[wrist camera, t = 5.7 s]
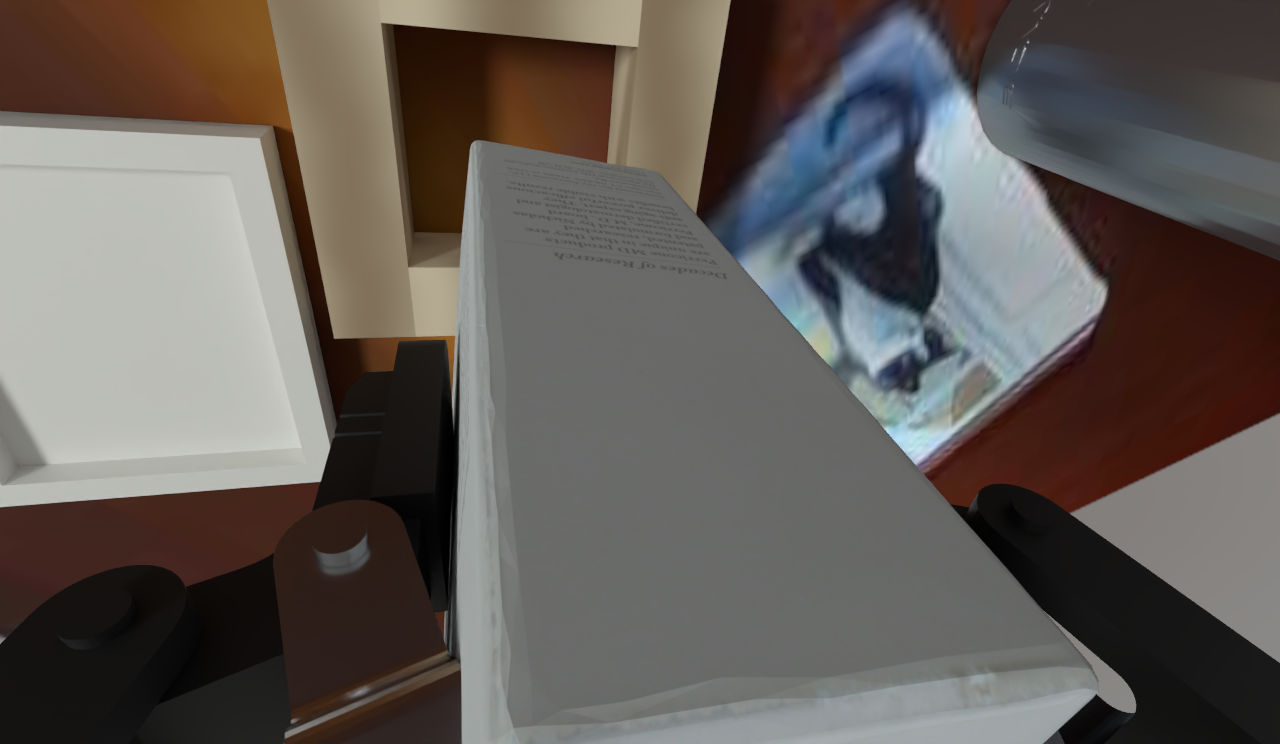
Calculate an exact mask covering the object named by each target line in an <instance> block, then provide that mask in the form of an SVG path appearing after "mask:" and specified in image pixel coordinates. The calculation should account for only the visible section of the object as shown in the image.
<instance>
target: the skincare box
mask: <svg viewBox="0 0 1280 744" xmlns="http://www.w3.org/2000/svg"><path fill="white" fill-rule="evenodd" d="M452 409H453V425H454V449H453V484H452V512H451V539H450V566H449V592H448V611H445V625H444V642H445V644H446V647H447V650H448V652H449V654H450V656H451V657H452V656H455V657H456V659H457V660H458V662H459V664H460V666H461V685H462V744H1043V743H1044V742H1045V741H1047V740H1048V739H1049V738H1050V737H1051V736H1052V735H1053V734H1054V733H1055V732H1056V731H1057V730H1058V729H1059V728H1061V727H1062V726H1063V725H1064V724H1065V723H1066V722H1067V721H1068V720H1069V719H1070V718H1071V717H1073V716H1074V715H1075V714H1076V713H1077V712H1078V711H1079V710H1080V709H1081V708H1082V707H1084V706H1085V705H1086V704H1087V703H1088V702H1089V701H1090V700H1091V699H1092V698H1093V697H1094V696H1095V695H1096V694H1097V692H1098V691H1099V686H1098V679H1097V676H1096V675H1095V672H1094V671H1093V668H1092V666H1091V665H1090V663H1089V662H1088V661H1087V660H1086V659H1085V657H1084V656H1083V655H1082V654H1081V653H1080V652H1079V651H1078V649H1077V648H1076V647H1075V646H1074V645H1073V644H1072V643H1071V641H1070V640H1069V639H1068V638H1067V637H1066V636H1065V634H1063V632H1062V631H1061V630H1060V629H1059V628H1058V626H1056V624H1055V623H1054V622H1053V621H1052V620H1051V619H1050V618H1049V616H1048V615H1047V614H1046V613H1045V612H1044V611H1043V610H1042V609H1041V607H1040V606H1039V605H1038V604H1037V603H1036V602H1035V601H1034V600H1033V598H1032V597H1031V596H1030V595H1029V594H1028V593H1027V592H1026V590H1025V589H1024V588H1023V587H1022V586H1021V584H1020V583H1019V582H1018V581H1017V580H1016V579H1015V577H1014V576H1013V575H1012V574H1011V573H1010V572H1009V571H1008V569H1007V568H1006V567H1005V566H1004V565H1003V564H1002V563H1001V561H1000V560H999V559H998V558H997V557H996V556H995V555H994V554H993V552H992V551H991V550H990V549H989V548H988V547H987V546H986V545H985V543H984V542H983V541H982V540H981V539H980V538H979V537H978V536H977V534H976V533H975V532H974V531H973V530H972V529H971V528H970V527H969V525H968V524H967V523H966V522H965V521H964V520H963V519H962V518H961V516H960V515H959V514H958V513H957V512H956V511H955V510H954V509H953V507H952V506H951V505H950V504H949V503H948V502H947V501H946V499H945V498H944V497H943V496H942V495H941V494H940V493H939V491H938V490H937V489H936V488H935V487H934V486H933V485H932V483H931V482H930V481H929V480H928V479H927V478H926V477H925V475H924V474H923V473H922V472H921V471H920V470H919V469H918V467H917V466H916V465H915V464H914V463H913V462H912V461H911V459H910V458H909V457H908V456H907V455H906V454H905V453H904V451H903V450H902V449H901V448H900V447H899V446H898V445H897V443H896V442H895V441H894V440H893V439H892V438H891V437H890V436H889V434H888V433H887V432H886V431H885V430H884V429H883V427H882V426H881V425H880V424H879V422H878V421H877V420H876V419H875V418H874V417H873V415H872V414H871V413H870V412H869V411H868V410H867V409H866V407H865V406H864V405H863V404H862V403H861V402H860V401H859V400H858V399H857V398H856V397H855V396H854V394H853V393H852V392H851V391H850V390H849V389H848V387H847V386H846V385H845V384H844V383H843V382H842V381H841V379H840V378H839V377H838V376H837V375H836V374H835V372H834V371H833V370H832V369H831V367H830V366H829V365H828V364H827V363H826V362H825V361H824V360H823V359H822V358H821V357H820V356H819V354H818V353H817V352H816V351H815V350H814V349H813V348H812V346H811V345H810V344H809V343H808V342H807V341H806V340H805V338H804V337H803V336H802V335H801V334H800V333H799V332H798V330H797V329H796V328H795V327H794V326H793V325H792V324H791V323H790V321H789V320H788V319H787V318H786V317H785V316H784V315H783V314H782V313H781V311H780V310H779V309H778V308H777V307H776V306H775V304H774V303H773V302H772V301H771V299H770V298H769V297H768V296H767V295H766V293H765V292H764V291H763V290H762V289H761V288H760V287H759V286H758V284H757V283H756V282H755V281H754V280H753V279H752V278H751V277H750V275H749V274H748V273H747V272H746V271H745V270H744V268H743V267H742V266H741V265H740V264H739V263H738V261H737V260H736V259H735V258H734V257H733V256H732V255H731V254H730V252H729V251H728V250H727V249H726V248H725V247H724V246H723V245H722V244H721V242H720V241H719V240H718V239H717V238H716V237H715V235H714V234H713V233H712V232H711V231H710V230H709V229H708V227H707V226H706V225H705V224H704V223H703V222H702V221H701V219H700V218H699V217H698V216H697V215H696V214H695V212H694V211H693V210H692V209H691V208H690V207H689V206H688V205H687V203H686V202H685V201H684V200H683V199H682V198H681V197H680V195H679V194H678V193H677V192H676V191H675V190H674V189H673V187H672V186H671V185H670V184H669V183H668V182H667V181H666V180H665V178H664V177H663V176H662V175H661V174H660V173H658V172H655V171H652V170H649V169H643V168H636V167H629V166H622V165H615V164H608V163H603V162H598V161H593V160H588V159H583V158H577V157H572V156H567V155H561V154H556V153H550V152H545V151H539V150H533V149H528V148H522V147H517V146H511V145H506V144H500V143H495V142H489V141H482V140H477V141H474V142H473V143H472V144H471V147H470V155H469V165H468V175H467V186H466V197H465V208H464V218H463V229H462V240H461V255H460V269H459V284H458V301H457V319H456V336H455V353H454V372H453V393H452Z"/></svg>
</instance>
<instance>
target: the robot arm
mask: <svg viewBox="0 0 1280 744" xmlns="http://www.w3.org/2000/svg"><path fill="white" fill-rule="evenodd" d="M977 102H978V114H979V118H980V121H981V124H982V128H983V131H984V132H985V134H986V135H987V137H988V138H989V140H990V141H991V143H992V144H993V145H994V146H996V147H997V148H998V149H999V150H1001V151H1002V152H1003V153H1006V154H1008V155H1011V156H1013V157H1016V158H1018V159H1021V160H1023V161H1026V162H1028V163H1031V164H1034V165H1036V166H1039V167H1041V168H1044V169H1046V170H1049V171H1051V172H1054V173H1056V174H1059V175H1062V176H1064V177H1066V178H1069V179H1071V180H1073V181H1076V182H1078V183H1081V184H1083V185H1086V186H1088V187H1091V188H1094V189H1096V190H1099V191H1101V192H1104V193H1107V194H1109V195H1112V196H1114V197H1117V198H1119V199H1122V200H1125V201H1127V202H1130V203H1132V204H1135V205H1137V206H1140V207H1143V208H1145V209H1148V210H1150V211H1153V212H1155V213H1158V214H1161V215H1163V216H1166V217H1168V218H1171V219H1173V220H1176V221H1179V222H1181V223H1184V224H1186V225H1189V226H1192V227H1194V228H1197V229H1199V230H1202V231H1204V232H1207V233H1210V234H1212V235H1215V236H1217V237H1220V238H1222V239H1225V240H1228V241H1230V242H1233V243H1235V244H1238V245H1240V246H1243V247H1246V248H1248V249H1251V250H1253V251H1256V252H1258V253H1261V254H1264V255H1266V256H1269V257H1271V258H1274V259H1276V260H1279V261H1280V0H1011V2H1010V3H1009V5H1008V7H1007V8H1006V10H1005V11H1004V13H1003V15H1002V16H1001V18H1000V19H999V21H998V23H997V25H996V27H995V30H994V32H993V34H992V36H991V38H990V41H989V43H988V45H987V48H986V51H985V55H984V58H983V61H982V65H981V68H980V73H979V81H978V89H977ZM334 434H335V438H333V440H332V443H331V447H330V450H329V454H328V457H327V461H326V464H325V468H324V472H323V475H322V479H321V482H320V486H319V489H318V493H317V496H316V500H315V503H314V507H313V510H312V512H310V513H309V514H307V515H305V516H304V517H302V518H301V519H299V520H298V521H297V522H295V523H294V524H293V525H292V526H291V527H290V528H289V529H288V530H287V531H286V532H285V533H284V535H283V536H282V537H281V539H280V540H279V542H278V544H277V546H276V548H275V552H274V553H273V554H272V555H270V556H268V557H267V558H265V559H263V560H260V561H258V562H256V563H254V564H252V565H249V566H246V567H244V568H241V569H238V570H235V571H232V572H229V573H226V574H223V575H220V576H217V577H214V578H211V579H208V580H205V581H202V582H199V583H196V584H193V585H190V586H187V587H185V585H184V583H183V582H182V580H181V579H180V578H179V576H177V575H176V574H175V573H173V572H172V571H170V570H167V569H165V568H162V567H157V566H152V565H134V566H125V567H120V568H115V569H111V570H107V571H104V572H101V573H98V574H95V575H93V576H90V577H87V578H85V579H83V580H81V581H79V582H77V583H75V584H73V585H71V586H69V587H67V588H65V589H64V590H62V591H60V592H59V593H57V594H55V595H54V596H53V597H51V598H50V599H48V600H47V601H46V602H44V603H43V604H42V605H40V606H39V607H38V608H37V609H36V610H35V611H34V612H33V613H31V614H30V615H29V616H28V617H27V618H26V619H25V620H24V621H23V622H22V623H21V624H20V625H19V626H18V627H17V628H16V629H15V630H14V631H13V632H12V633H11V634H10V635H9V636H8V637H7V638H6V639H5V640H4V641H3V642H2V643H1V644H0V744H462V685H461V666H460V664H459V662H458V660H457V659H456V657H455V656H452V657H451V656H450V654H449V652H448V650H447V647H446V644H445V642H444V639H443V636H442V633H441V630H440V627H439V624H438V621H437V618H436V615H435V613H434V612H442V611H448V592H449V566H450V539H451V512H452V484H453V449H454V425H453V409H452V397H451V385H450V372H449V360H448V349H447V342H446V340H418V341H399V344H398V349H397V354H396V360H395V365H394V371H387V372H365V373H364V374H363V375H362V376H361V377H360V378H359V379H358V380H357V381H356V382H355V383H354V384H353V386H352V387H351V388H350V389H349V390H348V391H347V392H346V394H345V398H344V401H343V405H342V408H341V412H340V419H338V422H337V426H336V429H335V433H334ZM950 505H951V504H950ZM951 506H952V507H953V509H954V510H955V511H956V512H957V513H958V514H959V515H960V516H961V518H962V519H963V520H964V521H965V522H966V523H967V524H968V525H969V527H970V528H971V529H972V530H973V531H974V532H975V533H976V534H977V536H978V537H979V538H980V539H981V540H982V541H983V542H984V543H985V545H986V546H987V547H988V548H989V549H990V550H991V551H992V552H993V554H994V555H995V556H996V557H997V558H998V559H999V560H1000V561H1001V563H1002V564H1003V565H1004V566H1005V567H1006V568H1007V569H1008V571H1009V572H1010V573H1011V574H1012V575H1013V576H1014V577H1015V579H1016V580H1017V581H1018V582H1019V583H1020V584H1021V586H1022V587H1023V588H1024V589H1025V590H1026V592H1027V593H1028V594H1029V595H1030V596H1031V597H1032V598H1033V600H1034V601H1035V602H1036V603H1037V604H1038V605H1039V606H1040V607H1041V609H1043V610H1044V611H1045V612H1046V613H1047V614H1048V615H1050V616H1051V617H1052V618H1053V619H1054V620H1055V621H1057V622H1058V623H1059V624H1060V625H1062V627H1064V628H1065V629H1066V630H1067V631H1068V632H1070V633H1071V634H1072V635H1073V636H1074V637H1076V638H1077V639H1078V640H1079V641H1080V642H1081V643H1083V644H1084V645H1085V646H1086V647H1087V648H1088V649H1089V650H1091V651H1092V652H1093V653H1094V654H1095V655H1097V656H1098V657H1099V658H1100V659H1101V660H1102V661H1104V662H1105V663H1106V664H1107V665H1108V666H1109V667H1111V668H1112V669H1113V670H1114V671H1115V672H1116V673H1118V674H1119V675H1120V676H1121V677H1122V678H1123V679H1124V680H1125V682H1126V683H1127V684H1128V685H1129V687H1130V688H1131V690H1132V692H1133V694H1134V697H1135V700H1136V712H1135V713H1126V712H1122V711H1120V710H1117V709H1115V708H1113V707H1112V706H1110V705H1109V704H1107V703H1106V702H1105V701H1103V700H1102V699H1101V698H1100V697H1099V696H1097V694H1096V695H1095V696H1094V697H1093V698H1092V699H1091V700H1090V701H1089V702H1088V703H1087V704H1086V705H1085V706H1084V707H1082V708H1081V709H1080V710H1079V711H1078V712H1077V713H1076V714H1075V715H1074V716H1073V717H1071V718H1070V719H1069V720H1068V721H1067V722H1066V723H1065V724H1064V725H1063V726H1062V727H1061V728H1059V729H1058V730H1057V731H1056V732H1055V733H1054V734H1053V735H1052V736H1051V737H1050V738H1049V739H1048V740H1047V741H1045V742H1044V743H1043V744H1280V663H1279V662H1277V661H1276V660H1275V659H1273V658H1272V657H1270V656H1269V655H1267V654H1266V653H1265V652H1263V651H1262V650H1261V649H1259V648H1258V647H1256V646H1255V645H1254V644H1252V643H1251V642H1249V641H1248V640H1247V639H1245V638H1244V637H1242V636H1241V635H1240V634H1238V633H1236V632H1235V631H1234V630H1233V629H1231V628H1230V627H1228V626H1227V625H1225V624H1224V623H1223V622H1221V621H1220V620H1218V619H1217V618H1215V617H1214V616H1213V615H1211V614H1210V613H1209V612H1207V611H1206V610H1204V609H1203V608H1202V607H1200V606H1199V605H1197V604H1196V603H1195V602H1193V601H1192V600H1190V599H1189V598H1187V597H1186V596H1185V595H1183V594H1182V593H1180V592H1179V591H1177V590H1176V589H1175V588H1173V587H1172V586H1171V585H1169V584H1168V583H1166V582H1165V581H1163V580H1162V579H1161V578H1159V577H1158V576H1157V575H1155V574H1154V573H1152V572H1151V571H1150V570H1148V569H1147V568H1145V567H1144V566H1142V565H1141V564H1140V563H1138V562H1137V561H1135V560H1134V559H1133V558H1131V557H1130V556H1128V555H1127V554H1126V553H1124V552H1123V551H1121V550H1120V549H1119V548H1117V547H1116V546H1114V545H1113V544H1111V543H1110V542H1109V541H1107V540H1106V539H1104V538H1103V537H1102V536H1100V535H1099V534H1097V533H1096V532H1095V531H1093V530H1092V529H1090V528H1089V527H1088V526H1086V525H1085V524H1083V523H1082V522H1081V521H1079V520H1078V519H1076V518H1075V517H1074V516H1072V515H1071V514H1069V513H1068V512H1067V511H1065V510H1064V509H1062V508H1061V507H1059V506H1058V505H1057V504H1055V503H1054V502H1052V501H1051V500H1049V499H1047V498H1045V497H1044V496H1042V495H1040V494H1038V493H1035V492H1033V491H1031V490H1028V489H1025V488H1022V487H1018V486H1015V485H1009V484H992V485H989V486H986V487H984V488H982V489H981V490H980V491H979V493H978V494H977V496H976V498H975V500H974V501H973V503H972V505H971V507H970V508H969V507H963V506H957V505H951Z"/></svg>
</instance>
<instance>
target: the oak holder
mask: <svg viewBox="0 0 1280 744" xmlns="http://www.w3.org/2000/svg"><path fill="white" fill-rule="evenodd" d="M730 1H731V0H267V2H268V7H269V12H270V17H271V23H272V28H273V33H274V38H275V43H276V48H277V53H278V58H279V63H280V68H281V73H282V78H283V83H284V88H285V93H286V98H287V103H288V108H289V113H290V118H291V123H292V128H293V134H294V139H295V144H296V149H297V154H298V159H299V164H300V169H301V174H302V179H303V184H304V189H305V194H306V199H307V204H308V209H309V214H310V219H311V224H312V229H313V234H314V239H315V244H316V250H317V255H318V260H319V265H320V270H321V275H322V280H323V285H324V290H325V295H326V300H327V305H328V310H329V315H330V320H331V325H332V330H333V335H334V339H341V338H379V337H418V336H456V319H457V301H458V284H459V269H460V255H461V240H462V233H431V232H414V224H413V215H412V205H411V195H410V185H409V175H408V166H407V156H406V146H405V136H404V126H403V117H402V107H401V97H400V87H399V78H398V68H397V58H396V48H395V38H394V29H393V24H399V25H410V26H420V27H431V28H441V29H452V30H462V31H473V32H483V33H494V34H504V35H515V36H526V37H536V38H547V39H557V40H568V41H578V42H589V43H599V44H610V45H616V54H615V67H614V80H613V93H612V106H611V119H610V133H609V146H608V159H607V163H608V164H615V165H622V166H629V167H636V168H643V169H649V170H652V171H655V172H658V173H660V174H661V175H662V176H663V177H664V178H665V180H666V181H667V182H668V183H669V184H670V185H671V186H672V187H673V189H674V190H675V191H676V192H677V193H678V194H679V195H680V197H681V198H682V199H683V200H684V201H685V202H686V203H687V205H688V206H689V207H690V208H691V209H692V210H693V211H694V212H695V214H696V210H697V204H698V198H699V192H700V186H701V179H702V173H703V167H704V161H705V155H706V149H707V143H708V136H709V130H710V124H711V118H712V112H713V106H714V100H715V93H716V87H717V81H718V75H719V69H720V63H721V56H722V50H723V44H724V38H725V32H726V26H727V20H728V13H729V7H730Z"/></svg>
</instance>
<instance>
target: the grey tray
mask: <svg viewBox="0 0 1280 744" xmlns="http://www.w3.org/2000/svg"><path fill="white" fill-rule="evenodd" d="M336 426H337V422H336V418H335V413H334V408H333V404H332V399H331V394H330V390H329V385H328V380H327V376H326V371H325V366H324V362H323V357H322V352H321V348H320V343H319V338H318V334H317V329H316V324H315V320H314V315H313V311H312V306H311V301H310V297H309V292H308V287H307V283H306V278H305V273H304V269H303V264H302V259H301V255H300V250H299V245H298V241H297V236H296V231H295V227H294V222H293V217H292V213H291V208H290V203H289V199H288V194H287V189H286V185H285V180H284V175H283V171H282V166H281V161H280V157H279V152H278V148H277V143H276V138H275V134H274V129H273V126H269V125H250V124H232V123H213V122H194V121H175V120H157V119H138V118H119V117H100V116H82V115H63V114H44V113H25V112H7V111H0V507H7V506H20V505H32V504H45V503H57V502H70V501H82V500H95V499H108V498H120V497H133V496H145V495H158V494H171V493H183V492H196V491H208V490H221V489H234V488H246V487H259V486H271V485H284V484H297V483H309V482H321V479H322V475H323V472H324V468H325V464H326V461H327V457H328V454H329V450H330V447H331V443H332V440H333V438H335V434H334V433H335V429H336Z"/></svg>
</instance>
